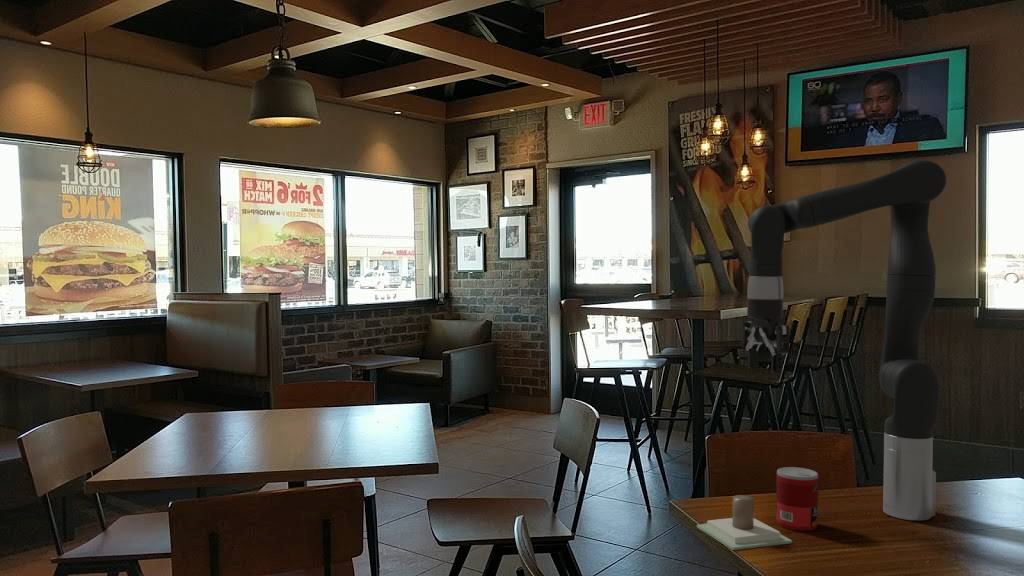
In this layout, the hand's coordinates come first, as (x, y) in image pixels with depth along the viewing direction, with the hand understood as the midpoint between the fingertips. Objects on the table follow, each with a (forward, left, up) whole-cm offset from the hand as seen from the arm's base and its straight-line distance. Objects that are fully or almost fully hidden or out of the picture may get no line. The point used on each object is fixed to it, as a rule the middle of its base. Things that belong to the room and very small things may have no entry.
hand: (764, 370), depth 167 cm
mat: (+15, +15, -30) cm, 37 cm away
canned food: (+1, +13, -30) cm, 33 cm away
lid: (+15, +15, -30) cm, 36 cm away
